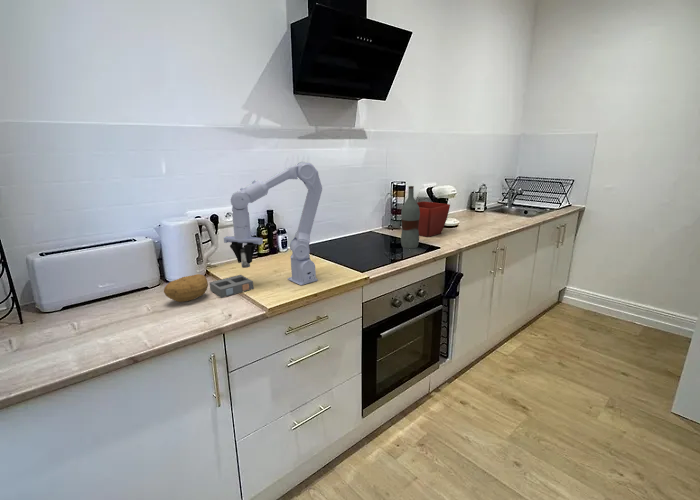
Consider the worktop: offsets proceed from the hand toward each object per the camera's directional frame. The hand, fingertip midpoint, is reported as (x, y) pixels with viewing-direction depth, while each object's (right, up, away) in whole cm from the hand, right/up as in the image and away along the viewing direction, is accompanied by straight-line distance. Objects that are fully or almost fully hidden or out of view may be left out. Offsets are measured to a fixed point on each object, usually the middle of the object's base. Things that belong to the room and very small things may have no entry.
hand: (245, 262), depth 136 cm
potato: (-16, -13, -10) cm, 23 cm away
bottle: (+68, +6, +52) cm, 86 cm away
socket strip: (-4, -10, -1) cm, 11 cm away
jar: (0, -2, 0) cm, 2 cm away
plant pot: (+82, +14, +78) cm, 114 cm away
